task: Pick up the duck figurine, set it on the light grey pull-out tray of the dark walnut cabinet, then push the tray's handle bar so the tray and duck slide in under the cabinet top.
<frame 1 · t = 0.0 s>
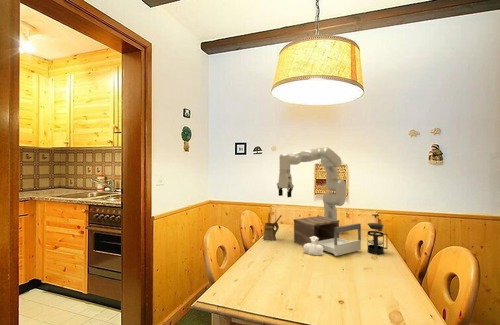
hand: (284, 196, 185), 31 cm above the table, tool pointing down, fingers open, 9 cm apart
french press: (376, 252, 161), on the table
walnut cabinet: (316, 243, 181), on the table
wooden mug: (272, 239, 189), on the table
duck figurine: (313, 254, 159), on the table
pull-out tray: (336, 235, 165), point 9 cm above the table, slide at 16.0 cm
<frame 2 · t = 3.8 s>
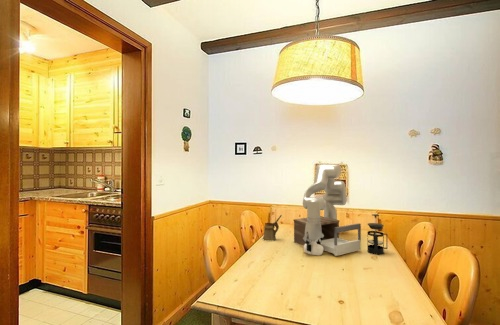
hand: (313, 249, 159), 2 cm above the table, tool pointing down, fingers closed on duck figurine, 6 cm apart
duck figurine: (313, 254, 159), on the table, touching gripper
everything else where it was.
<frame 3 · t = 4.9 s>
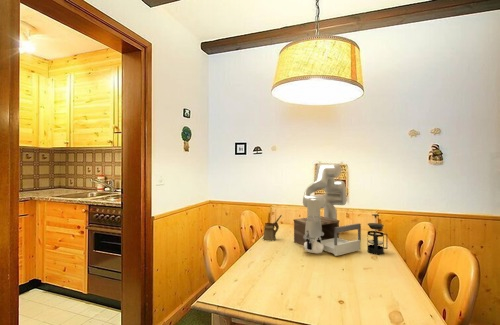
hand: (313, 247, 160), 3 cm above the table, tool pointing down, fingers closed on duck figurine, 6 cm apart
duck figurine: (313, 252, 160), point 1 cm above the table, touching gripper
everything else where it was.
when the fingers open (6 cm above the table, at t = 11.2 s): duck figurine stays where it is, resting on pull-out tray.
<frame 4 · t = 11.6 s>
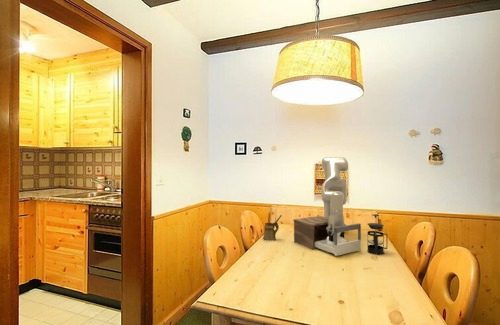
hand: (336, 240, 166), 6 cm above the table, tool pointing down, fingers open, 9 cm apart
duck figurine: (336, 246, 166), point 2 cm above the table, touching pull-out tray
pull-out tray: (336, 235, 165), point 9 cm above the table, slide at 16.0 cm, touching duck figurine
everything else where it was.
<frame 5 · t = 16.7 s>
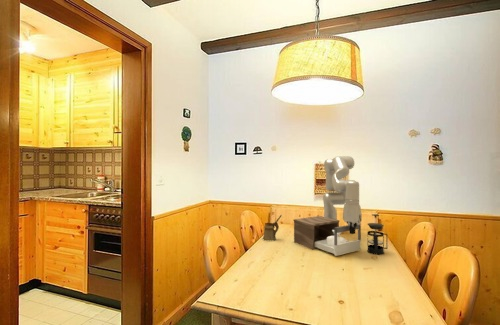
hand: (352, 233, 156), 13 cm above the table, tool pointing down, fingers closed
pull-out tray: (336, 235, 165), point 9 cm above the table, slide at 16.0 cm, touching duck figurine, gripper
everything else where it was.
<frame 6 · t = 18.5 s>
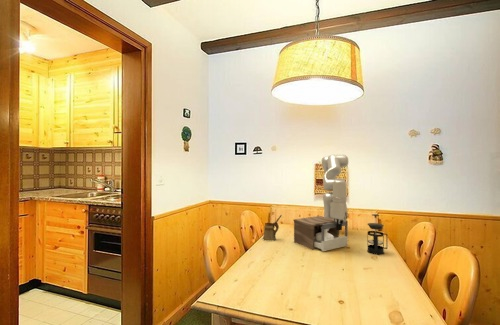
hand: (339, 230, 164), 13 cm above the table, tool pointing down, fingers closed
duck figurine: (324, 242, 174), point 2 cm above the table, touching pull-out tray
pull-out tray: (325, 232, 174), point 9 cm above the table, slide at 6.2 cm, touching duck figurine, gripper
everything else where it was.
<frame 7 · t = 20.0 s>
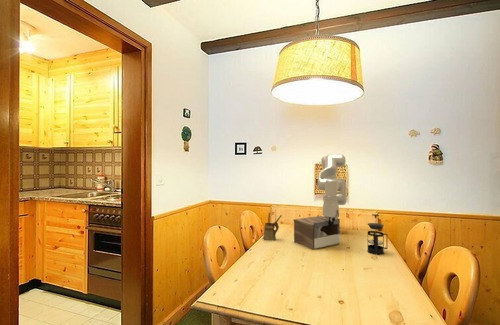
hand: (331, 227, 170), 13 cm above the table, tool pointing down, fingers closed
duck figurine: (317, 239, 180), point 2 cm above the table, touching pull-out tray
pull-out tray: (317, 230, 179), point 9 cm above the table, slide at -0.2 cm, touching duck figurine, gripper
everything else where it was.
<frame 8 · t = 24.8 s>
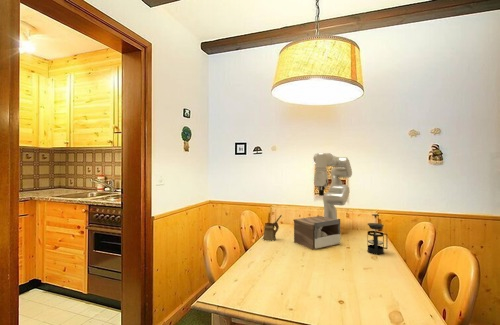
hand: (321, 195, 192), 31 cm above the table, tool pointing down, fingers closed
pull-out tray: (318, 230, 179), point 9 cm above the table, slide at 0.3 cm, touching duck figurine
everything else where it was.
at the end: pull-out tray slide at 0.3 cm; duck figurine inside the target area on the walnut cabinet (1.0 cm from its centre), point 2.3 cm above the walnut cabinet's base; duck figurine tilted 2° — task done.
